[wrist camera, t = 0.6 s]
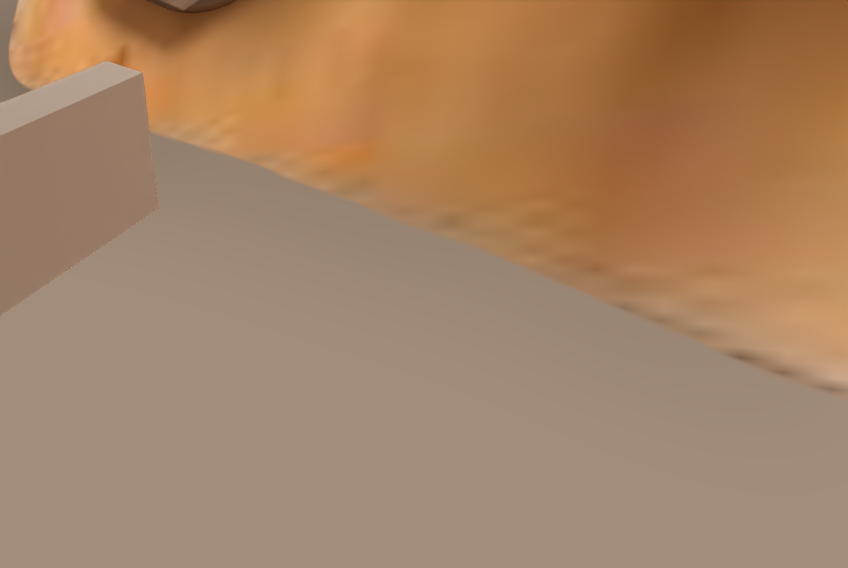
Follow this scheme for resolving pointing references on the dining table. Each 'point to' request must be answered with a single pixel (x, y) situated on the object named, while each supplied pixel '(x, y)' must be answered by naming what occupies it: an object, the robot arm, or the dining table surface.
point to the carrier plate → (191, 5)
